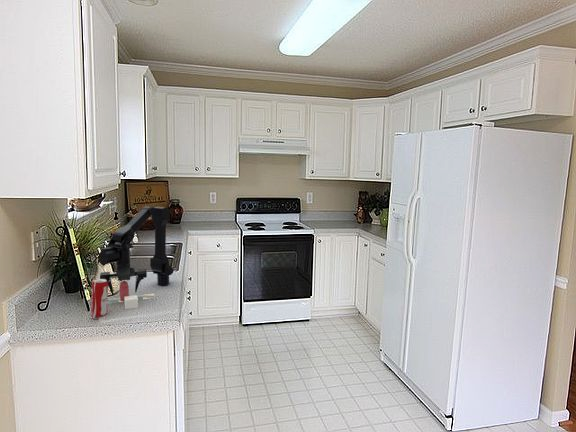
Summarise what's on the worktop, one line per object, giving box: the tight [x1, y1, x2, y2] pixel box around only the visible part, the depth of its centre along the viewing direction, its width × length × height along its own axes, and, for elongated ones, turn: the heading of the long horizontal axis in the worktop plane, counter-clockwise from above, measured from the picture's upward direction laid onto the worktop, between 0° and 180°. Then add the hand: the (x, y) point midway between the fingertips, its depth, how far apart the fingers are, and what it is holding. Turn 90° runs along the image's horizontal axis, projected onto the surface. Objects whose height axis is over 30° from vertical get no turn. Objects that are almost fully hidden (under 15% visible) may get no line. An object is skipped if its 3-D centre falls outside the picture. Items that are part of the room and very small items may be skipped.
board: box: [107, 293, 156, 305], centre depth 170 cm, size 6×20×1 cm, turn 115°
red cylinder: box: [119, 280, 130, 301], centre depth 169 cm, size 4×4×8 cm
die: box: [124, 294, 139, 310], centre depth 161 cm, size 5×5×5 cm
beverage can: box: [90, 278, 109, 320], centre depth 152 cm, size 6×6×15 cm
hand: (124, 293), depth 169 cm, fingers open, 9 cm apart
